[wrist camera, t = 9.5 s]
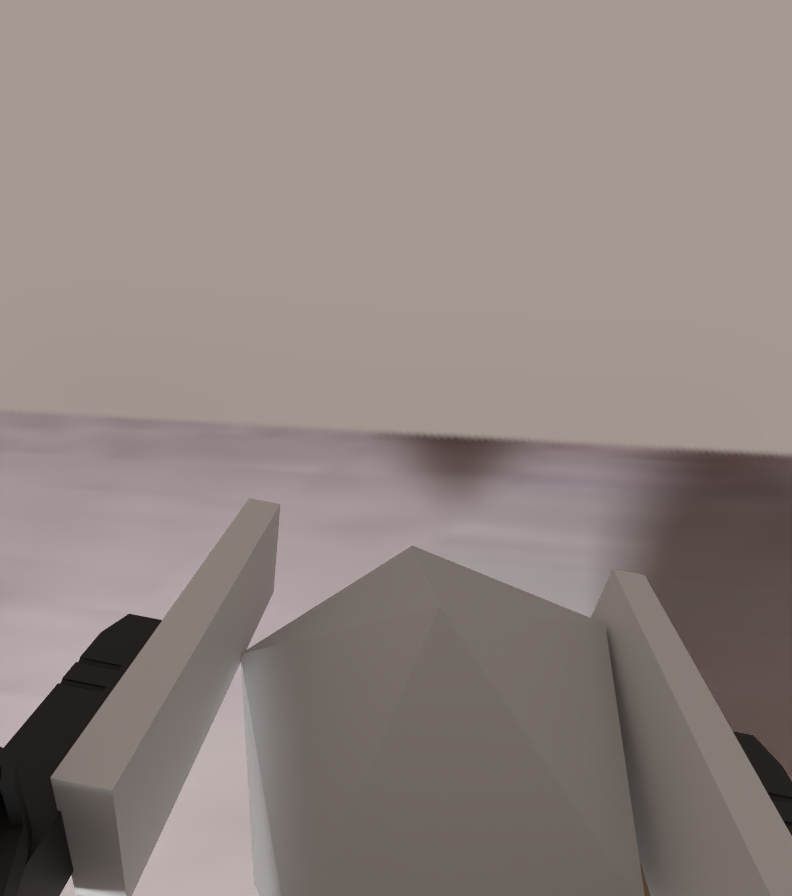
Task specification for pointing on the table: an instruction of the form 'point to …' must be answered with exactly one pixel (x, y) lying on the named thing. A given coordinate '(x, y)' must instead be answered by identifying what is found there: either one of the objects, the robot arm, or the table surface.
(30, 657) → the table surface
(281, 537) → the table surface
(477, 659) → the die
